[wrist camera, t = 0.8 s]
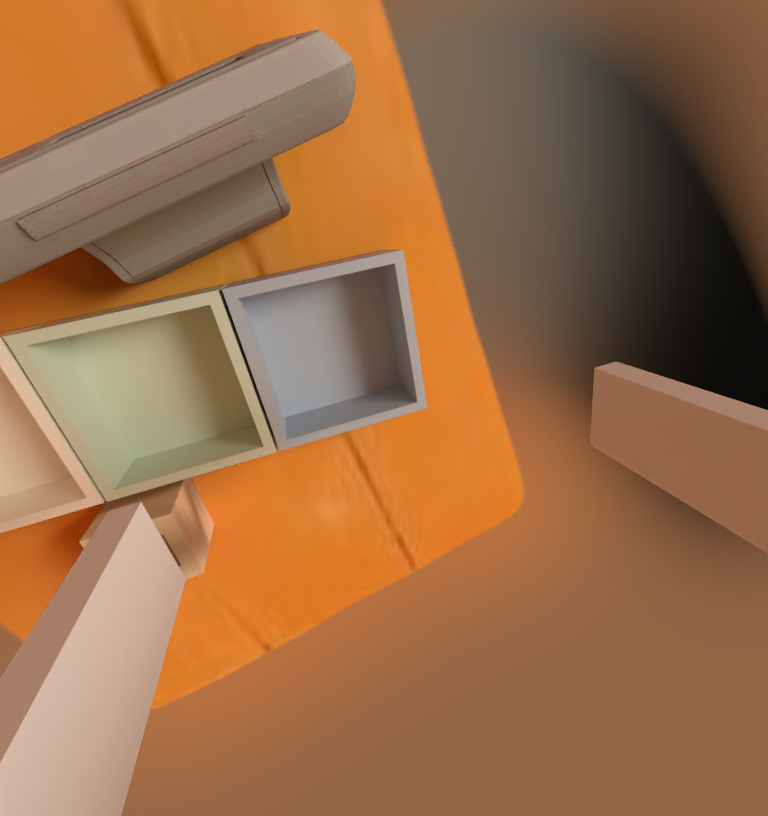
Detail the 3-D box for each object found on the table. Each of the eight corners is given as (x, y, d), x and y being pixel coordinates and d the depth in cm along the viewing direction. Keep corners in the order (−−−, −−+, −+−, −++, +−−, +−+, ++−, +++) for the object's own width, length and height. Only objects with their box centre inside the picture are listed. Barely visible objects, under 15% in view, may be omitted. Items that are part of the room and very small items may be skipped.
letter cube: (112, 491, 26) (78, 542, 21) (187, 470, 27) (170, 514, 22) (146, 545, 28) (121, 602, 23) (214, 524, 29) (203, 574, 24)
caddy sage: (51, 322, 21) (3, 337, 17) (227, 283, 23) (217, 290, 19) (132, 465, 25) (107, 501, 22) (276, 424, 27) (276, 452, 23)
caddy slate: (230, 283, 23) (221, 289, 19) (383, 250, 24) (403, 249, 21) (279, 423, 27) (279, 451, 23) (407, 387, 29) (427, 407, 25)
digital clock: (300, 50, 20) (324, -138, 10) (344, 235, 24) (390, 224, 14) (-44, 103, 17) (-432, -78, 8) (67, 299, 21) (-103, 338, 12)
